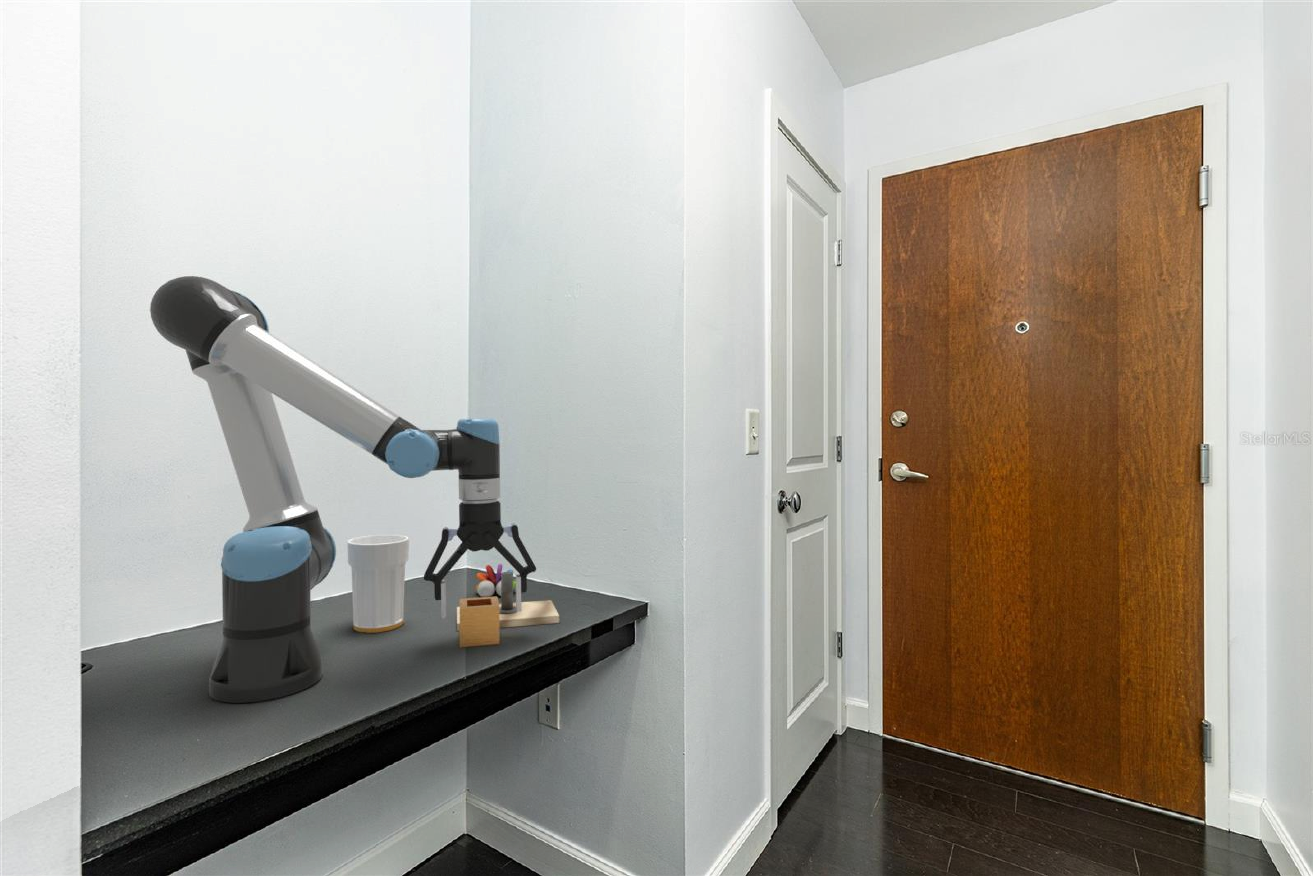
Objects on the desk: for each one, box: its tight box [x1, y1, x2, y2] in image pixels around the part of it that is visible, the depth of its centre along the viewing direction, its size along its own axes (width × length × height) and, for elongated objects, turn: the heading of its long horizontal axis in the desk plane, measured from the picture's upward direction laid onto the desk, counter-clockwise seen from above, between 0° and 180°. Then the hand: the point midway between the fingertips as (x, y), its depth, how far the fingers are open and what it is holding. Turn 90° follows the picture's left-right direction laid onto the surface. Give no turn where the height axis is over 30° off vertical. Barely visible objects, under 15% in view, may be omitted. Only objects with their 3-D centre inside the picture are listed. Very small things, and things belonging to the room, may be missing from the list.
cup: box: [347, 534, 410, 634], centre depth 128 cm, size 11×11×17 cm
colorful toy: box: [474, 563, 516, 598], centre depth 153 cm, size 8×10×7 cm
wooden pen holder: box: [459, 596, 500, 648], centre depth 120 cm, size 7×7×7 cm
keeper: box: [456, 571, 560, 632], centre depth 133 cm, size 20×12×10 cm, turn 107°
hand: (481, 613), depth 120 cm, fingers open, 13 cm apart
